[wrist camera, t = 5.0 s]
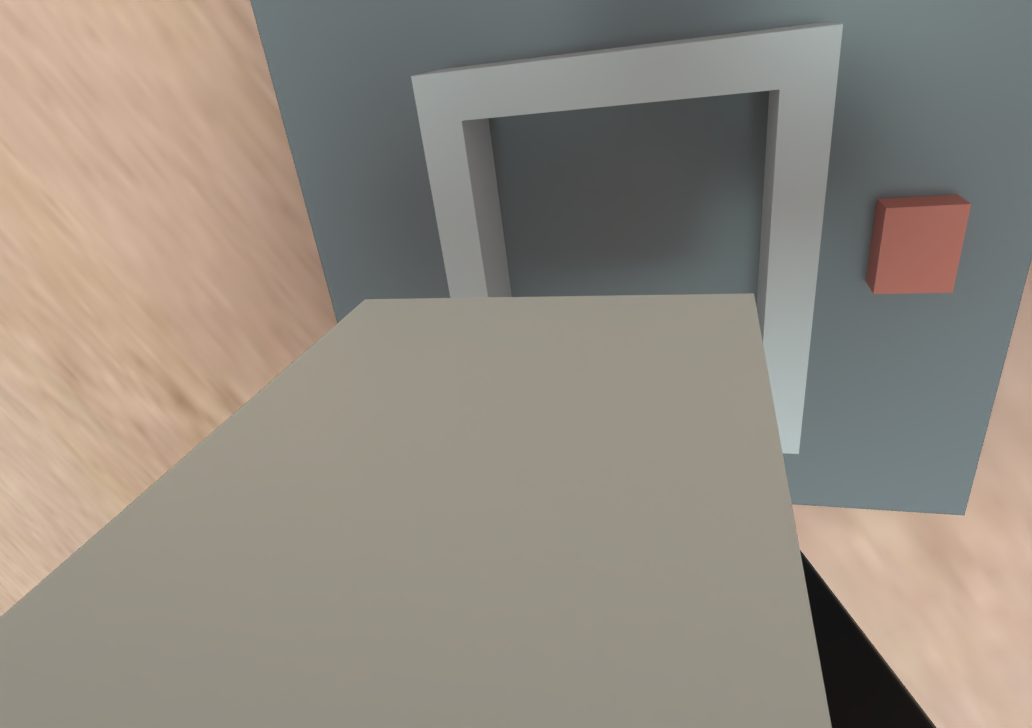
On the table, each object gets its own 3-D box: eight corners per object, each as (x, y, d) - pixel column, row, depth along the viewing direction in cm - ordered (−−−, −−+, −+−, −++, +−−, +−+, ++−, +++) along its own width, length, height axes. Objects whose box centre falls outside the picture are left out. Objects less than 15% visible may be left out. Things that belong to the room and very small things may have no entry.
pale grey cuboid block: (461, 566, 11) (193, 1192, 5) (398, 270, 9) (-250, 834, 3) (730, 595, 10) (772, 1451, 4) (748, 260, 7) (919, 1235, 2)
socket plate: (396, 452, 24) (353, 515, 21) (270, -52, 17) (177, -65, 14) (946, 481, 19) (991, 568, 16) (1111, -214, 12) (1252, -289, 9)
